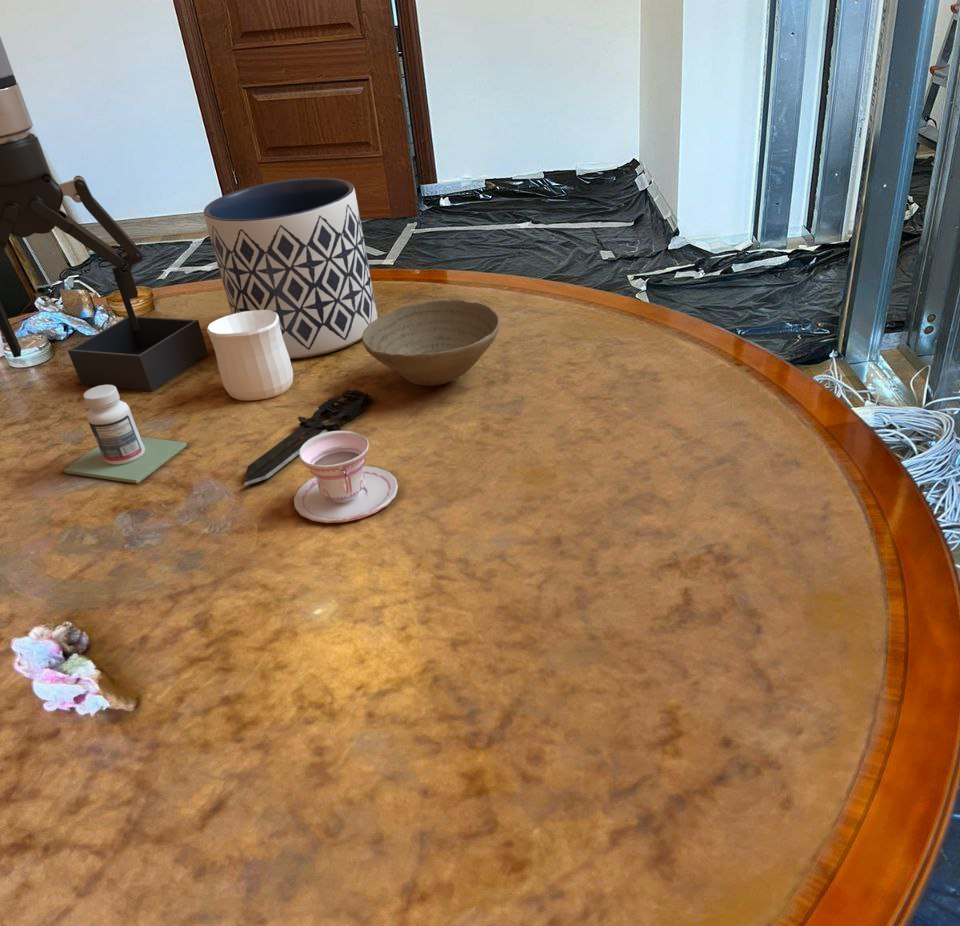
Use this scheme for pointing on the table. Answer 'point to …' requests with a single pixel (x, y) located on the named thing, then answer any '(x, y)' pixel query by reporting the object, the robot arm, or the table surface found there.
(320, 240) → the planter
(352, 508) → the teacup
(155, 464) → the mat
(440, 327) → the bowl
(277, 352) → the cup
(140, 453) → the pill bottle
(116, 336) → the box
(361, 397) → the knife
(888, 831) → the table surface
